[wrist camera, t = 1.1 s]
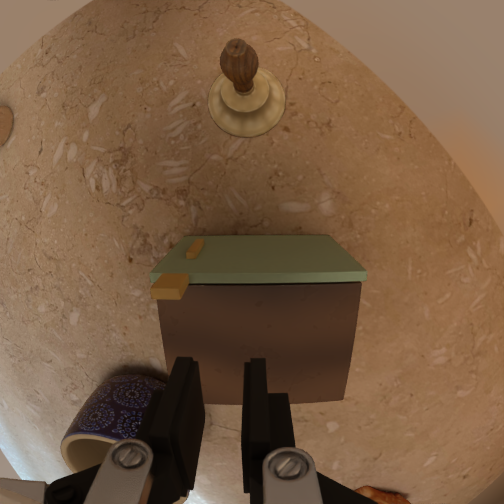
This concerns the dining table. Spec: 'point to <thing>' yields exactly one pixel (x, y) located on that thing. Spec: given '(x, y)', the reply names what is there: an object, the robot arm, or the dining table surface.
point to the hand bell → (245, 93)
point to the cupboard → (265, 336)
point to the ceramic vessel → (382, 496)
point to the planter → (108, 420)
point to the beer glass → (5, 123)
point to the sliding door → (252, 262)
